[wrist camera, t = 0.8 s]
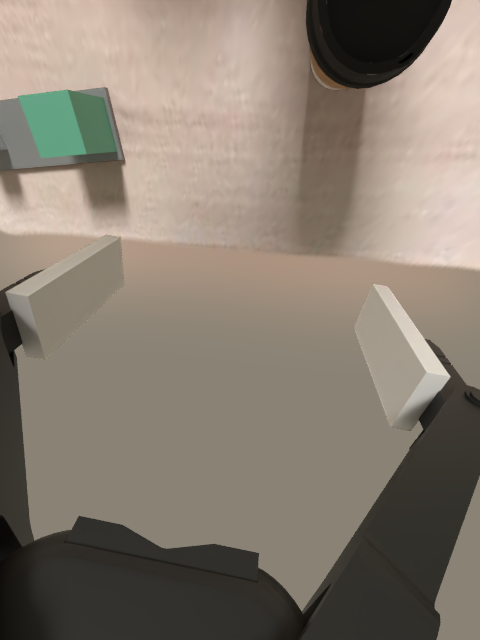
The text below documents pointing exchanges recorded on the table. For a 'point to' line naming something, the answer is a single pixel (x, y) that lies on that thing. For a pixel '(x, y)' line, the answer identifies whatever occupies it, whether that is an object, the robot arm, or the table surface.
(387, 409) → the robot arm
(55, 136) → the stand
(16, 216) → the table surface
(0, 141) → the post
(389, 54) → the coffee cup
